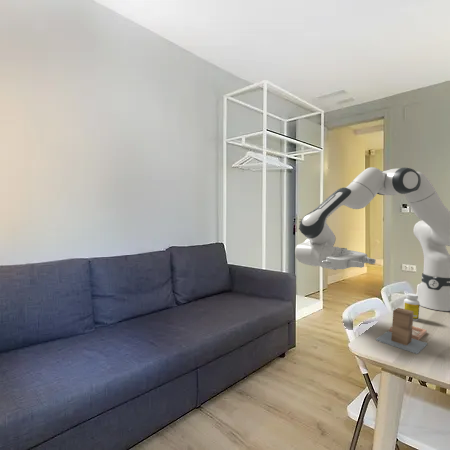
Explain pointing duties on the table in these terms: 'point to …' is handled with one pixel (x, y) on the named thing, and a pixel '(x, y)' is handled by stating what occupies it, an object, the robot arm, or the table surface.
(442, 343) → the table surface
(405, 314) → the walnut block
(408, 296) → the supplement bottle
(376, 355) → the table surface
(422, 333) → the terracotta frame
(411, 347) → the rubber mat
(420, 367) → the table surface
